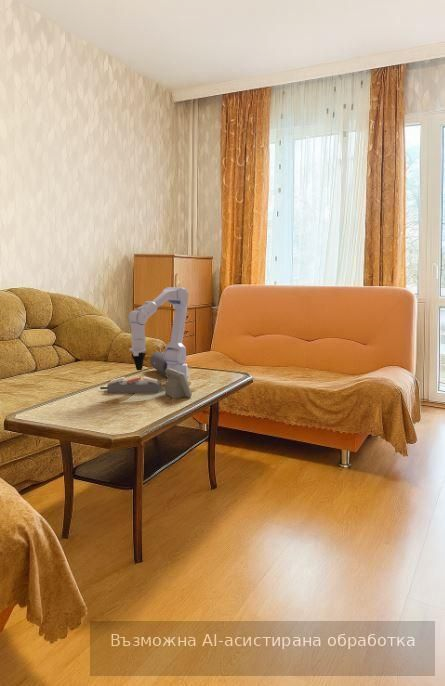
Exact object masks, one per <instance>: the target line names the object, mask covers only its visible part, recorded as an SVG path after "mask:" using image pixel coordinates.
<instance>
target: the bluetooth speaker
mask: <svg viewBox="0 0 445 686" xmlns="http://www.w3.org/2000/svg"><path fill="white" fill-rule="evenodd" d="M163 354H164V352H159V351H156V352H153V353H152V354H151V355H150V358H149V363H150V365H151V366H152V368H154V369H155V370H156V371H158V373H159V374H160V375H161V376H165V377H167V375H166V373H165V370H166V369H167V363H166V361H165V360H164V357H163Z"/></svg>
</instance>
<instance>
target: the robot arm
mask: <svg viewBox="0 0 445 686" xmlns="http://www.w3.org/2000/svg"><path fill="white" fill-rule="evenodd" d="M188 301H189V292H188V291H187V289H186V287H183V286H181V287H179V286H178V287H174V286H173V287H172V286H168V287H166V288H164V289H163V290H162V292H161V293H159V294H158V295H157V296H156V297H155V298H154V299H153V300H152V301H151V300H147V301H144V304H142V305H141V306H139V307H137V309H136V310H131V311H130V312H129V314H128V317H127V321H128V322H129V326H130V332H131V334H130V335H131V336H130V337H131V348H128V351H130V352H132V353H131V357H132V360H133V361H134V366H135V369H136V371H142V370H143V367H144V360H145V358H146V354H147V352H146V351H147V348H146V325H145V324H146V323H147V322H148V319H149V318H150V317H151V316H152V315H153V314H155V313H157V311H158V308H159V307H161V306H162V305H164V304H165V303H166V302H169V304H171V305H172V306H173V308H175V309H174V316H173V321H172V329H171V337H170V342H169V343H167V344H166V345H165V349H164V351H163V353H164V354H163V357H164V360H165V361H166V363H167V368H171V369H173V370H176V371H179V372H181V373H184V375H185V377H186V379H187V382H188V381H189V373H188V371H189V370H188V364H187V363H185V362H186V359H187V348H186V346H185V345H184V344H183V340H184V334H185V328H186V327H185V325H186V319H187V313H188ZM167 382H168V379H167V380H166V382H165V384H166V383H167Z"/></svg>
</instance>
